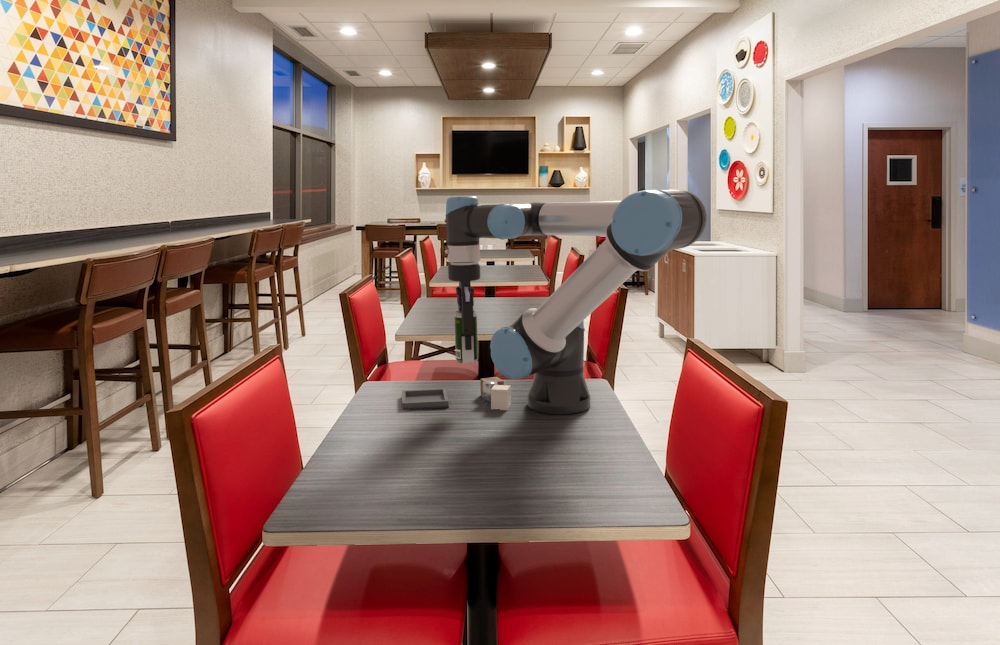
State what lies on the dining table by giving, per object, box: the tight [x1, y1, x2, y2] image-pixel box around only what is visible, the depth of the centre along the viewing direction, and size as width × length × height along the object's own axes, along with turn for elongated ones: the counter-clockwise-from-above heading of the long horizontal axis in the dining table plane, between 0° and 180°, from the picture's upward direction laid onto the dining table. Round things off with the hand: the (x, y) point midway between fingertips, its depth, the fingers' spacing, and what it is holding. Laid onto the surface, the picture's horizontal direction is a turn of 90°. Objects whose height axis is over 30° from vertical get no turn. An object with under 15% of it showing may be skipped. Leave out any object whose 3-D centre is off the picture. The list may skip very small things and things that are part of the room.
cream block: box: [490, 384, 512, 411], centre depth 169 cm, size 4×4×5 cm
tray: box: [401, 387, 450, 411], centre depth 175 cm, size 11×11×2 cm
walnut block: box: [479, 376, 505, 398], centre depth 178 cm, size 4×4×4 cm
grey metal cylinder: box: [482, 381, 498, 405], centre depth 173 cm, size 4×4×5 cm
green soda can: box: [453, 310, 479, 364], centre depth 168 cm, size 5×5×12 cm
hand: (467, 359), depth 169 cm, fingers closed on green soda can, 5 cm apart
